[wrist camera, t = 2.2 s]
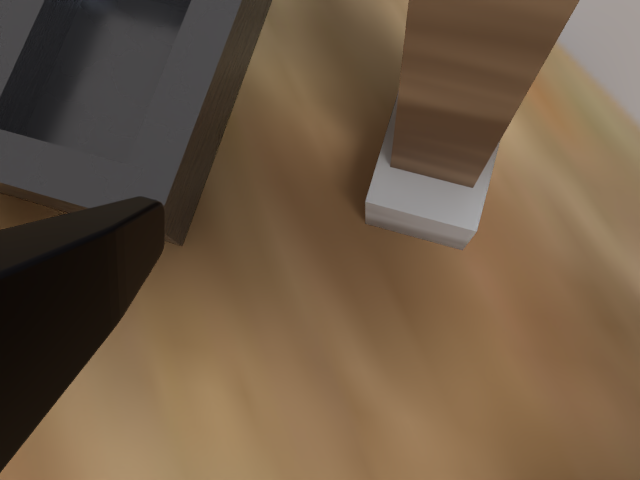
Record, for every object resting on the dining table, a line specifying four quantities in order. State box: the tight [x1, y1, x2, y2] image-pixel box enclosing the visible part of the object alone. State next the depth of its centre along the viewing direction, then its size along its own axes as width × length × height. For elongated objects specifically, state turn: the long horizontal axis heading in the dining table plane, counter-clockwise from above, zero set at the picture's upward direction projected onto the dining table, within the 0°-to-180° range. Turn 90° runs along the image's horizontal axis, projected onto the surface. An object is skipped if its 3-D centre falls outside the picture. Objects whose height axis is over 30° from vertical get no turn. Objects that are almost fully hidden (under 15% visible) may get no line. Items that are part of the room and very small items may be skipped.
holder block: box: [0, 0, 272, 246], centre depth 24 cm, size 12×10×3 cm
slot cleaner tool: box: [365, 0, 579, 250], centre depth 17 cm, size 6×4×14 cm, turn 163°
